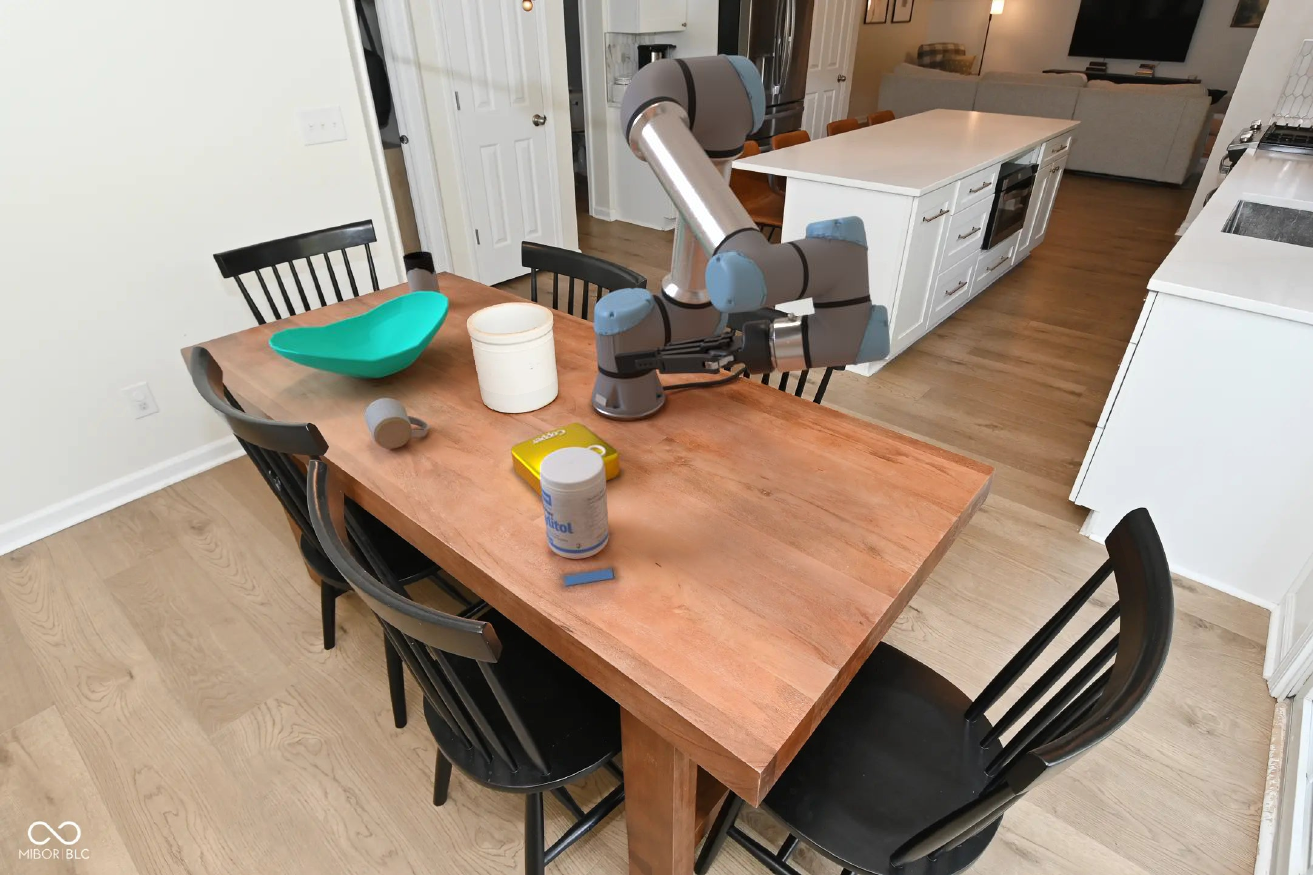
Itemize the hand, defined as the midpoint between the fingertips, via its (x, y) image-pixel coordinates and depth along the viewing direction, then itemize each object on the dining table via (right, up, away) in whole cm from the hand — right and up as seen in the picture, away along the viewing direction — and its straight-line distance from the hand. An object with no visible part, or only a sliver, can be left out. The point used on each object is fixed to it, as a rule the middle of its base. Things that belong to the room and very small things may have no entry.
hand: (617, 363), depth 103 cm
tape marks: (-6, -27, +4) cm, 28 cm away
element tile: (-10, -17, +20) cm, 28 cm away
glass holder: (-58, +26, +91) cm, 111 cm away
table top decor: (-59, +4, +56) cm, 81 cm away
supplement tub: (-6, -27, +4) cm, 28 cm away
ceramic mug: (-44, -11, +30) cm, 55 cm away
